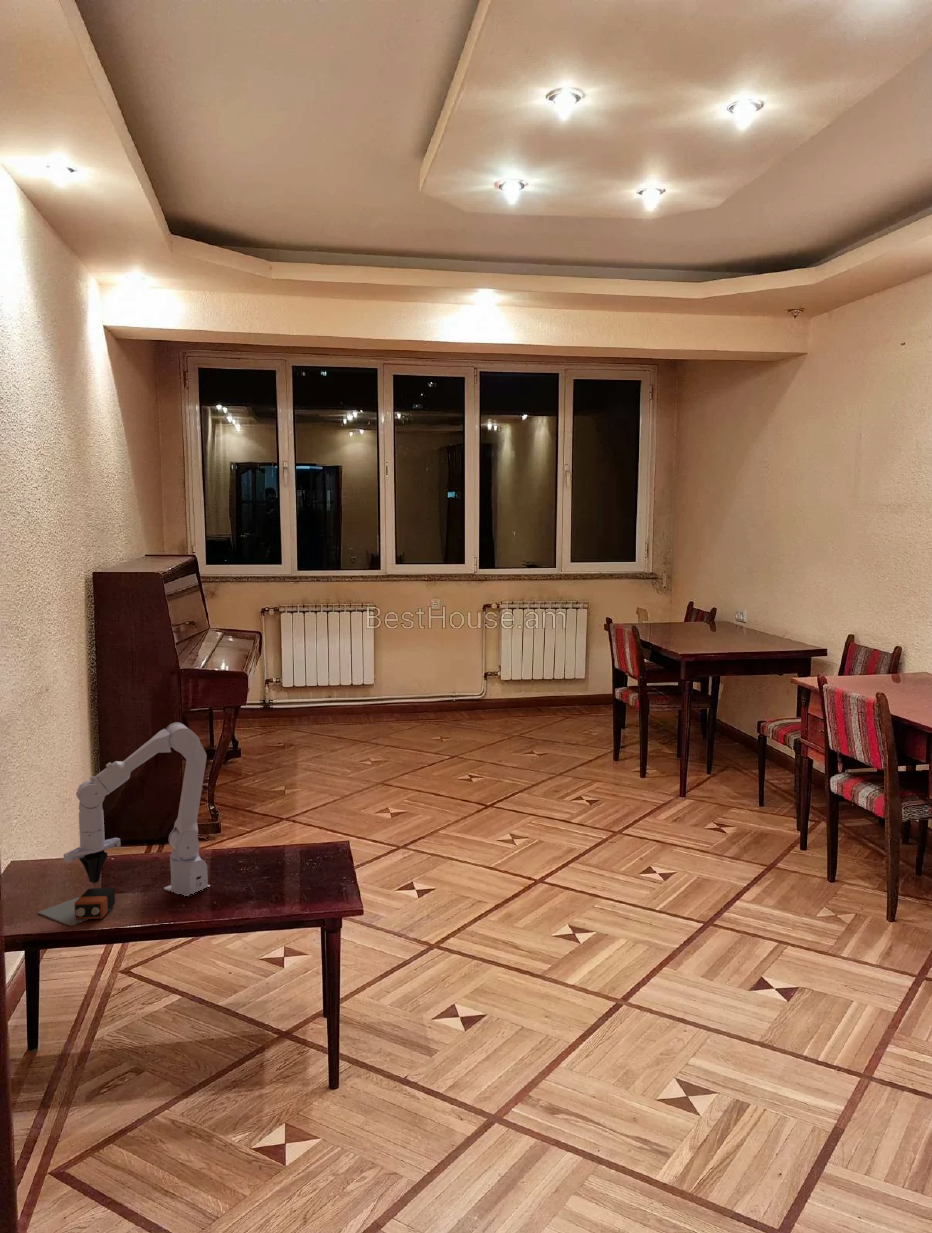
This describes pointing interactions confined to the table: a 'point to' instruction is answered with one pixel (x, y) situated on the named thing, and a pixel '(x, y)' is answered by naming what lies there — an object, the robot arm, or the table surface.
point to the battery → (94, 903)
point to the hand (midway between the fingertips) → (94, 881)
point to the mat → (63, 913)
